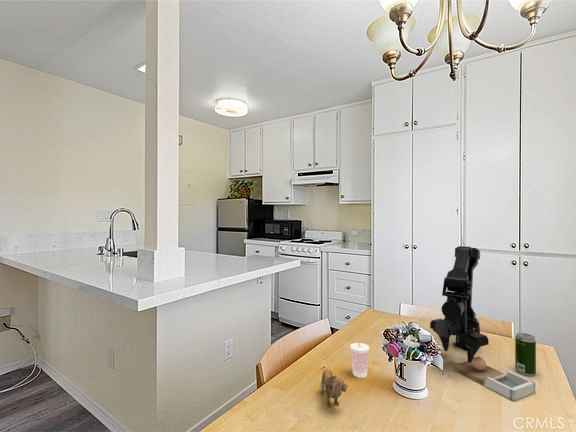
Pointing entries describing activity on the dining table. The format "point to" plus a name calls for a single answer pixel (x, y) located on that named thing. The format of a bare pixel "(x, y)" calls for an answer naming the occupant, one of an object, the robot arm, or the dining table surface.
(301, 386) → the dining table surface
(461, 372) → the runway
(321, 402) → the dining table surface
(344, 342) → the dining table surface
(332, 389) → the lion figurine
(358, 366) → the beverage cup
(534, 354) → the beer can
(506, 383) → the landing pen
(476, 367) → the ball
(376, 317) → the dining table surface
